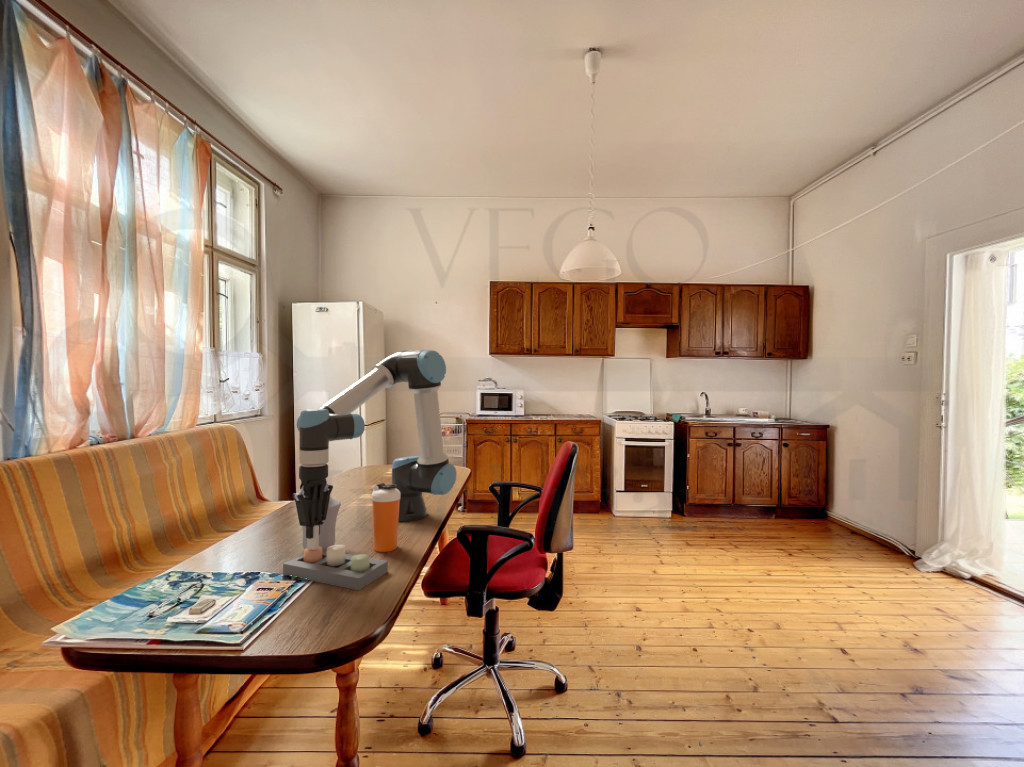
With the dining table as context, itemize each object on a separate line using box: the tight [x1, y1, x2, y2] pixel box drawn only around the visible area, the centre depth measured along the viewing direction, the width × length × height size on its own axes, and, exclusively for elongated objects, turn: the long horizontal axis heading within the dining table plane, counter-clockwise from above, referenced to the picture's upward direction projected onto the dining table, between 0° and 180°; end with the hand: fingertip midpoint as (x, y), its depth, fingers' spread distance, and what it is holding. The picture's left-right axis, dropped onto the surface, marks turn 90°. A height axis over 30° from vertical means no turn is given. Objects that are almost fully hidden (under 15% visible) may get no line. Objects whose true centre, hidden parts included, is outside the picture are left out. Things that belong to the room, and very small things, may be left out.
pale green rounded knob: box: [351, 553, 371, 573], centre depth 122 cm, size 5×5×4 cm
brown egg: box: [303, 547, 322, 564], centre depth 127 cm, size 5×5×4 cm
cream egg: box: [327, 544, 346, 566], centre depth 125 cm, size 5×5×4 cm
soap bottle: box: [301, 496, 342, 550], centre depth 143 cm, size 13×13×25 cm
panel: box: [282, 550, 389, 591], centre depth 125 cm, size 12×25×3 cm, turn 70°
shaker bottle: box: [370, 482, 400, 553], centre depth 144 cm, size 9×9×20 cm
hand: (312, 548), depth 127 cm, fingers closed
